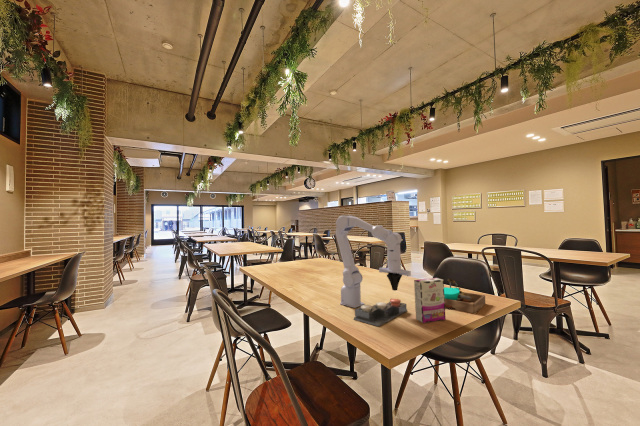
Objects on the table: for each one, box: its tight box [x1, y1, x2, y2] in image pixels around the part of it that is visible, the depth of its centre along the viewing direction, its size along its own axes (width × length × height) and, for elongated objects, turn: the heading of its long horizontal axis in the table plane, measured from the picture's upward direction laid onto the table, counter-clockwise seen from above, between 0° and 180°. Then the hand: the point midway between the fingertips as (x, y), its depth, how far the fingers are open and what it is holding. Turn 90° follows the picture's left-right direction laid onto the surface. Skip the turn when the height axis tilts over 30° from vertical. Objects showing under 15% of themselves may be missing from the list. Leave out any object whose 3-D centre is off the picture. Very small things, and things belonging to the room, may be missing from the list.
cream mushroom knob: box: [360, 304, 373, 312], centre depth 115 cm, size 5×5×4 cm
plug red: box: [389, 298, 402, 306], centre depth 121 cm, size 5×5×4 cm
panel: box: [353, 301, 408, 328], centre depth 118 cm, size 13×24×4 cm, turn 137°
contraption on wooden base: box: [444, 278, 471, 310], centre depth 131 cm, size 14×18×15 cm
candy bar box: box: [413, 277, 446, 324], centre depth 112 cm, size 11×5×16 cm, turn 105°
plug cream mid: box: [375, 301, 387, 309], centre depth 118 cm, size 5×5×4 cm
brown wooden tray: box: [444, 291, 486, 314], centre depth 131 cm, size 22×18×4 cm
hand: (394, 290), depth 121 cm, fingers closed
